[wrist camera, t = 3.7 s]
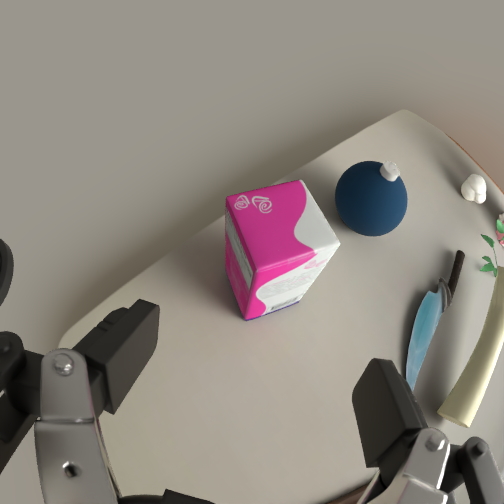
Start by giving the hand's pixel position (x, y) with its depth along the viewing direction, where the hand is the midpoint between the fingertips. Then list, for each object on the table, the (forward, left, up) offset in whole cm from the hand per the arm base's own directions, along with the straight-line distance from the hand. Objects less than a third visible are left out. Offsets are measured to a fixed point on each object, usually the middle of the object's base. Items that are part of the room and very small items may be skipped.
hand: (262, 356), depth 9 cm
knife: (+23, -1, -16) cm, 28 cm away
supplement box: (+4, +8, -15) cm, 18 cm away
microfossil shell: (+46, +13, -15) cm, 50 cm away
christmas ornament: (+18, +13, -15) cm, 27 cm away
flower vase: (+33, -5, -15) cm, 37 cm away
